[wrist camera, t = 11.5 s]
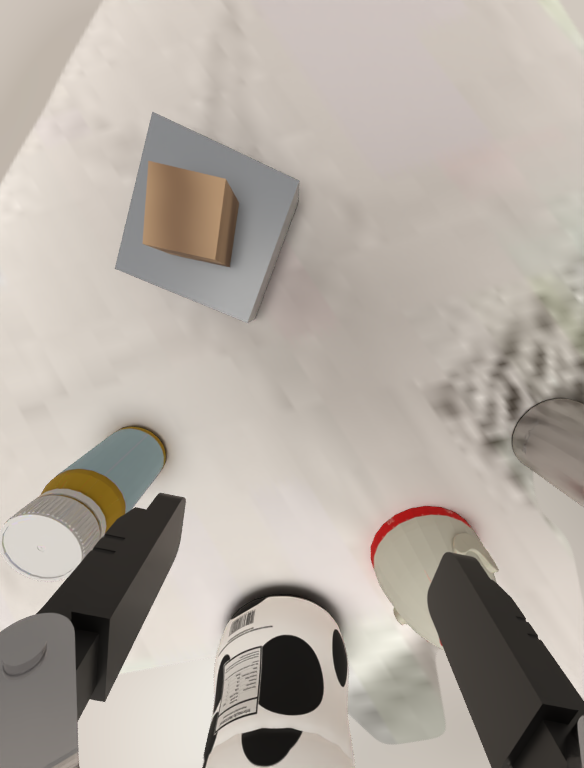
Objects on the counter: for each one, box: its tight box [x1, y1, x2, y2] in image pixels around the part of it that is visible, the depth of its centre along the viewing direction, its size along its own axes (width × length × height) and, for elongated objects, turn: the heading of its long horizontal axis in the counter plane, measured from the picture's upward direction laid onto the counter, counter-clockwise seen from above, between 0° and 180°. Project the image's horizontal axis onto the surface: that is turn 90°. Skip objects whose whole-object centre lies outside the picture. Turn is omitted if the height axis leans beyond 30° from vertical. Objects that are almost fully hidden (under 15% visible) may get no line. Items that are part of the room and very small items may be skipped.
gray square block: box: [115, 112, 299, 323], centre depth 28 cm, size 12×12×6 cm
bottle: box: [0, 427, 166, 582], centre depth 30 cm, size 7×7×15 cm
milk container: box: [202, 595, 355, 768], centre depth 36 cm, size 17×17×18 cm
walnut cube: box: [143, 161, 239, 267], centre depth 23 cm, size 5×5×5 cm
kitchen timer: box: [371, 506, 498, 650], centre depth 34 cm, size 14×14×15 cm
